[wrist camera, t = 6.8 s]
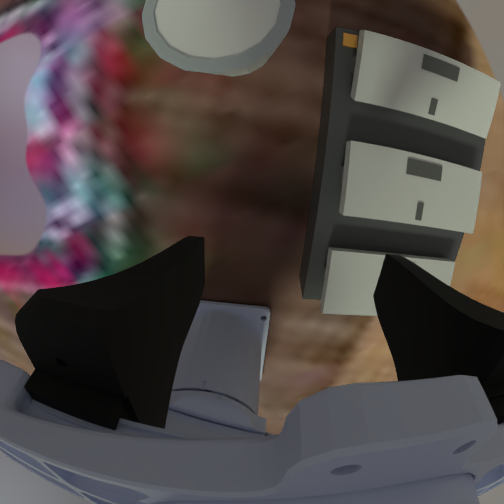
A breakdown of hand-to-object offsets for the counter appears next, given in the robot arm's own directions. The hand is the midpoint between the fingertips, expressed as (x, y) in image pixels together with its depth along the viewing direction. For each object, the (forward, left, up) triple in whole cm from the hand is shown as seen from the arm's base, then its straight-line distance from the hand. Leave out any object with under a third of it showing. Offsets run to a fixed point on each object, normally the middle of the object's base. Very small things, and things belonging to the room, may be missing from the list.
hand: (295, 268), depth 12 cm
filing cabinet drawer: (+2, -7, -6) cm, 10 cm away
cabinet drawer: (+9, -7, -6) cm, 13 cm away
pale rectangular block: (-4, -7, -6) cm, 10 cm away
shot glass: (+11, +4, -10) cm, 15 cm away
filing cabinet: (+2, -7, -10) cm, 13 cm away
